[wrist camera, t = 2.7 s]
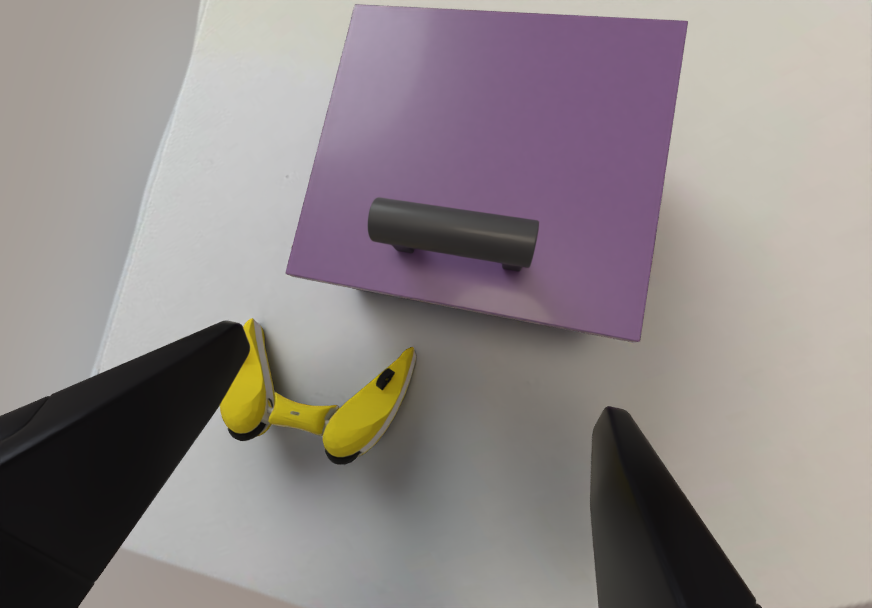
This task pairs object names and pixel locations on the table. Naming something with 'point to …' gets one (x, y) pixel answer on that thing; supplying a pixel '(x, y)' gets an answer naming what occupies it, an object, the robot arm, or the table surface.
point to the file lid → (496, 163)
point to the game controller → (342, 434)
